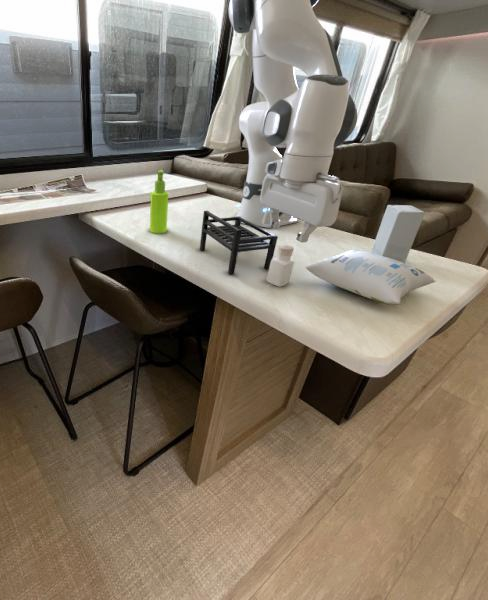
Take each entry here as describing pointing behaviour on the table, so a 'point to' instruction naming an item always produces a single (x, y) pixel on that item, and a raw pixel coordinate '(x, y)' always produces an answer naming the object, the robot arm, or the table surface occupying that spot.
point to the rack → (237, 238)
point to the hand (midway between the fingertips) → (287, 234)
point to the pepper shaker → (281, 266)
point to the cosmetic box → (397, 232)
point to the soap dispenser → (159, 206)
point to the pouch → (371, 275)
